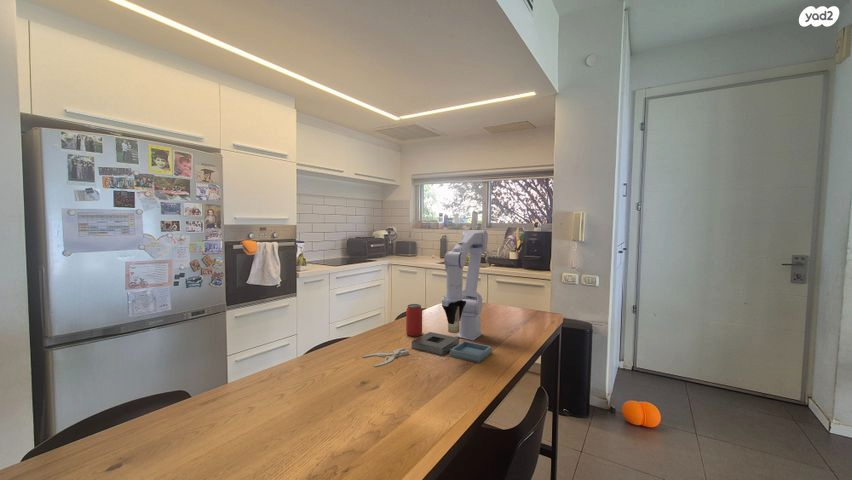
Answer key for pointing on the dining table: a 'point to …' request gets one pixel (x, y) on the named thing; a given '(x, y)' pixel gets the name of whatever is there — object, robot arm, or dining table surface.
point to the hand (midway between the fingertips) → (454, 322)
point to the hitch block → (435, 343)
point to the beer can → (414, 320)
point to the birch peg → (454, 327)
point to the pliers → (393, 355)
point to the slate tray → (471, 351)
